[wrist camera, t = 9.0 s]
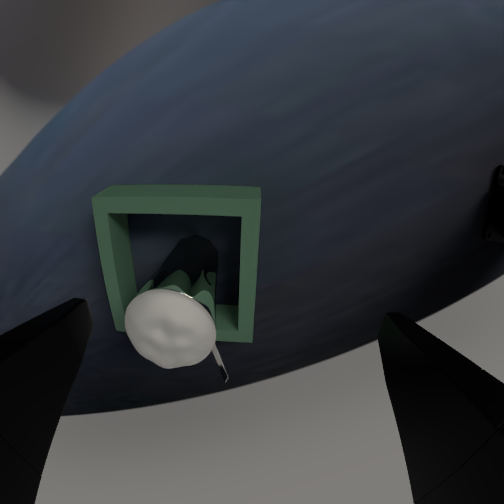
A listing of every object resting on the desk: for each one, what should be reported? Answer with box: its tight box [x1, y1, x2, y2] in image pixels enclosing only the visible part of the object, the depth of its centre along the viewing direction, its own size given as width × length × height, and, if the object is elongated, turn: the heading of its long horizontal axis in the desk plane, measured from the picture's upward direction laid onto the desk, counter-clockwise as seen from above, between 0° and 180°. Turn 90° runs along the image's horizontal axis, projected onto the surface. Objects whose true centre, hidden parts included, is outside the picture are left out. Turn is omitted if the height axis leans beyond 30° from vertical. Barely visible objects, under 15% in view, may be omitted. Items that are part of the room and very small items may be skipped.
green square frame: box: [92, 184, 261, 343], centre depth 20 cm, size 10×10×3 cm
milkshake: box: [125, 235, 229, 383], centre depth 17 cm, size 5×5×10 cm
